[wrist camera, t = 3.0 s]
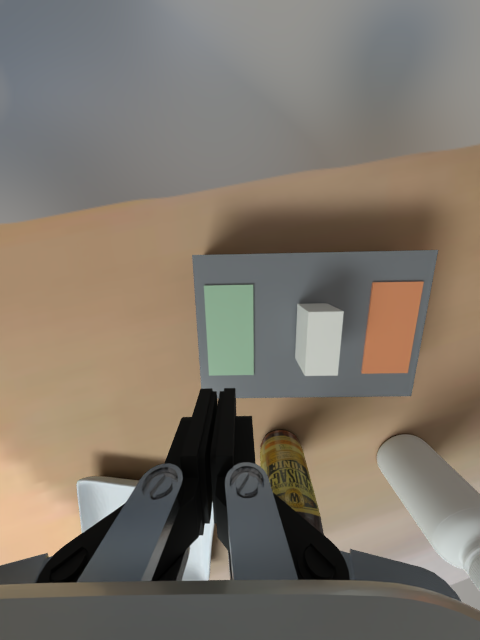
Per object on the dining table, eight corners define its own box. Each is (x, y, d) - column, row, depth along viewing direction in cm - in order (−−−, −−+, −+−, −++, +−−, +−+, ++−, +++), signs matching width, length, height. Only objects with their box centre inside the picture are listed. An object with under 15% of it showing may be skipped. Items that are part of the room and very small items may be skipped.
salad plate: (211, 564, 42) (208, 589, 39) (95, 553, 42) (83, 579, 39) (220, 472, 37) (218, 493, 34) (89, 460, 37) (74, 479, 33)
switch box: (397, 252, 28) (439, 249, 22) (380, 371, 32) (412, 397, 26) (202, 256, 28) (191, 255, 22) (209, 373, 32) (201, 399, 26)
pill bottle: (432, 465, 36) (562, 604, 21) (382, 480, 37) (474, 624, 22) (421, 424, 34) (555, 546, 19) (368, 442, 35) (459, 571, 20)
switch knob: (326, 303, 23) (343, 311, 19) (322, 357, 25) (337, 375, 21) (297, 303, 23) (308, 311, 19) (295, 358, 25) (304, 375, 21)
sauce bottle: (302, 428, 34) (378, 639, 15) (296, 461, 36) (359, 693, 17) (258, 425, 34) (279, 633, 15) (255, 459, 36) (270, 687, 17)
